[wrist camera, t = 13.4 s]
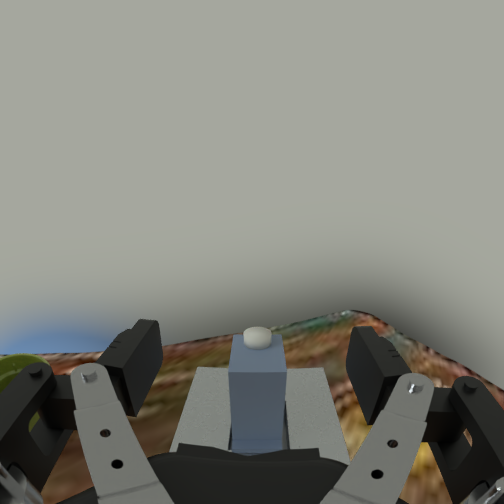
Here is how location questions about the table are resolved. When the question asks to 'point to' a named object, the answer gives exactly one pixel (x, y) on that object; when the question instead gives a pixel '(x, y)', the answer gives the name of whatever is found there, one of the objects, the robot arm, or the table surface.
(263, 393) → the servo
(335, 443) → the plate
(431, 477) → the table surface
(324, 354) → the table surface
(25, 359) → the plant pot
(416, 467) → the table surface
